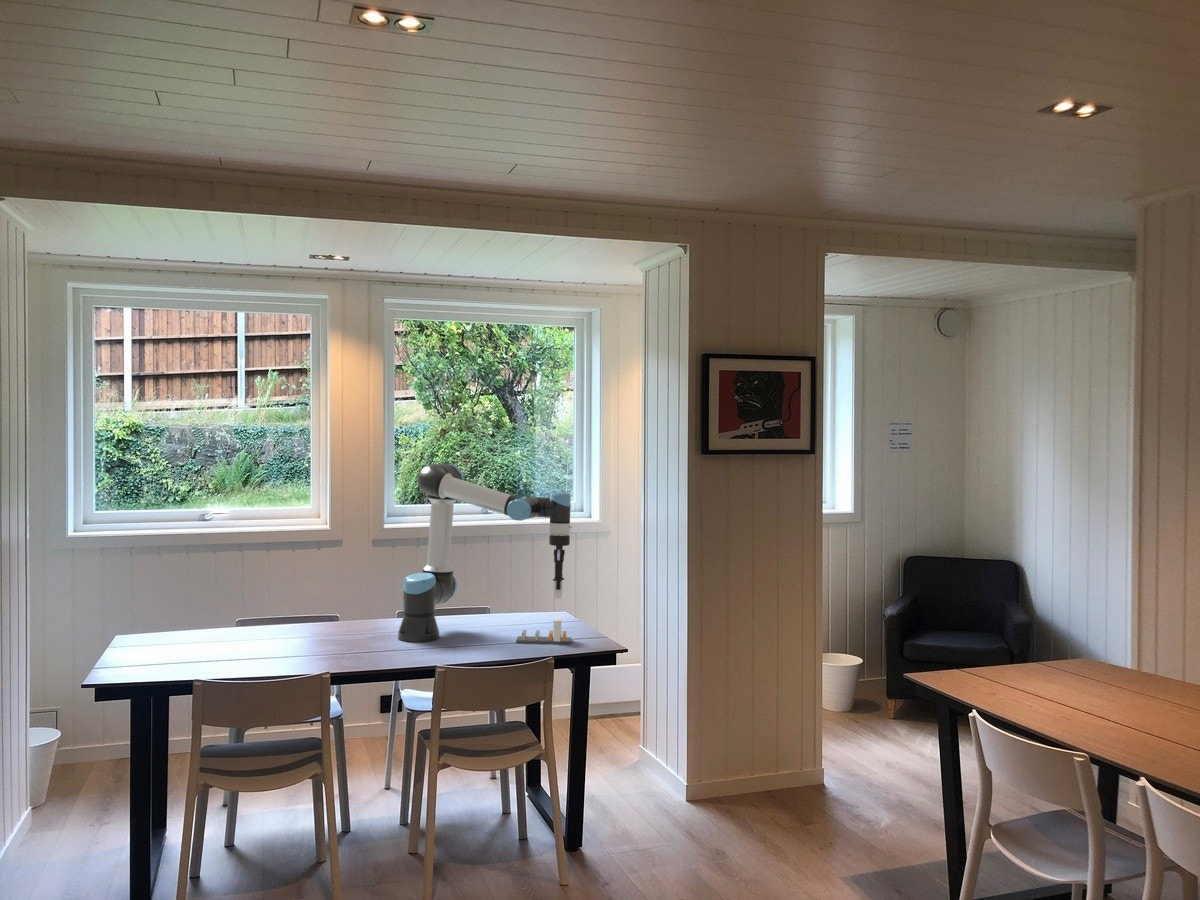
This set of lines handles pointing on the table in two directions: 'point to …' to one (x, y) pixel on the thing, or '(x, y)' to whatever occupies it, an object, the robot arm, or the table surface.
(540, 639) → the rack
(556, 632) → the panel
